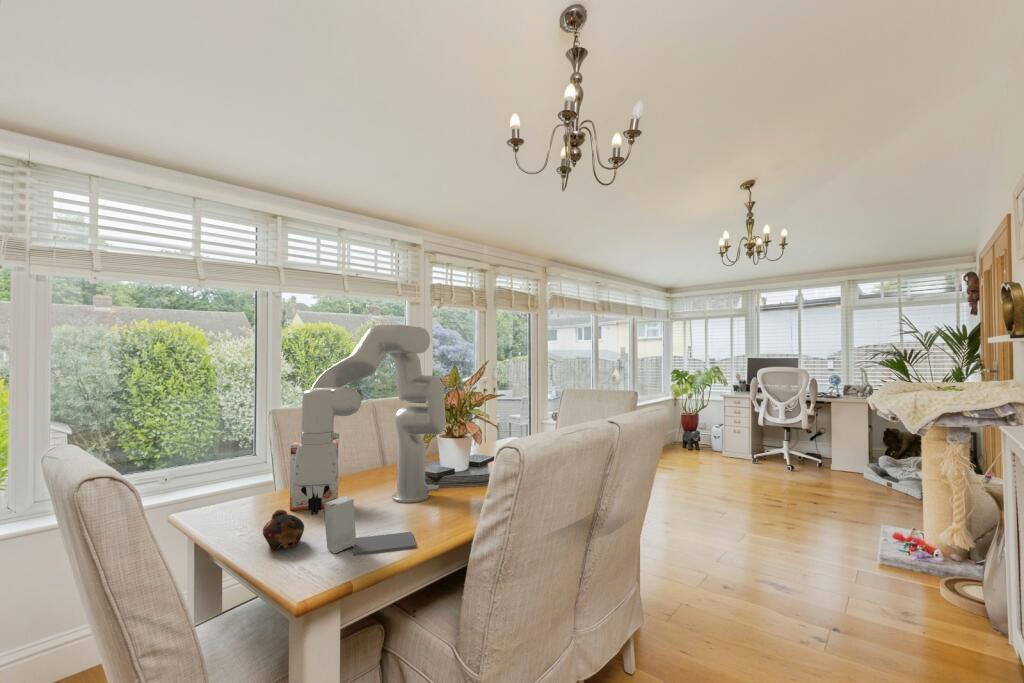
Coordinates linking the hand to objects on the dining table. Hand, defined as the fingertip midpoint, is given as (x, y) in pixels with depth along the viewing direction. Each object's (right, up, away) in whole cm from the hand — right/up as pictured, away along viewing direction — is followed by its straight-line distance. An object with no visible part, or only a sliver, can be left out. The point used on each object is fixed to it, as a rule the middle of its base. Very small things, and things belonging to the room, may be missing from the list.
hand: (314, 513), depth 118 cm
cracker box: (-15, -11, +36) cm, 41 cm away
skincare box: (+6, -10, +2) cm, 11 cm away
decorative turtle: (-10, -10, +4) cm, 15 cm away
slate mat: (+16, -10, +5) cm, 19 cm away
